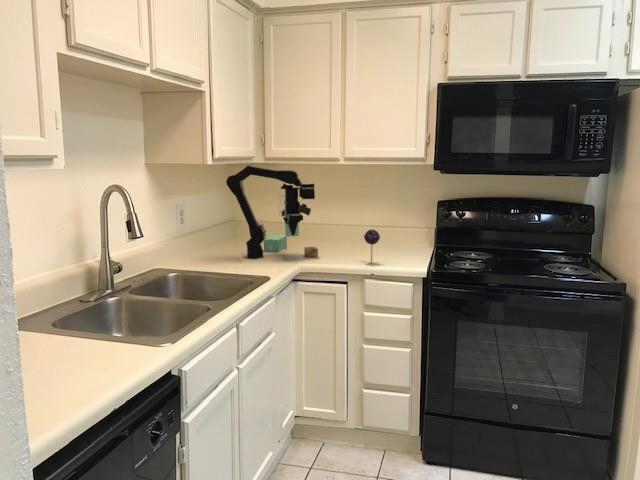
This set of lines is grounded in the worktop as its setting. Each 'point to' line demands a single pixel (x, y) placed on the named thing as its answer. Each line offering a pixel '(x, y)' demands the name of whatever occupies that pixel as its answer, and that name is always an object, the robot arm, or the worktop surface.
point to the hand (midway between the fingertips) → (292, 234)
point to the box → (275, 243)
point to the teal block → (288, 232)
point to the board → (296, 257)
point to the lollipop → (371, 238)
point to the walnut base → (311, 252)
